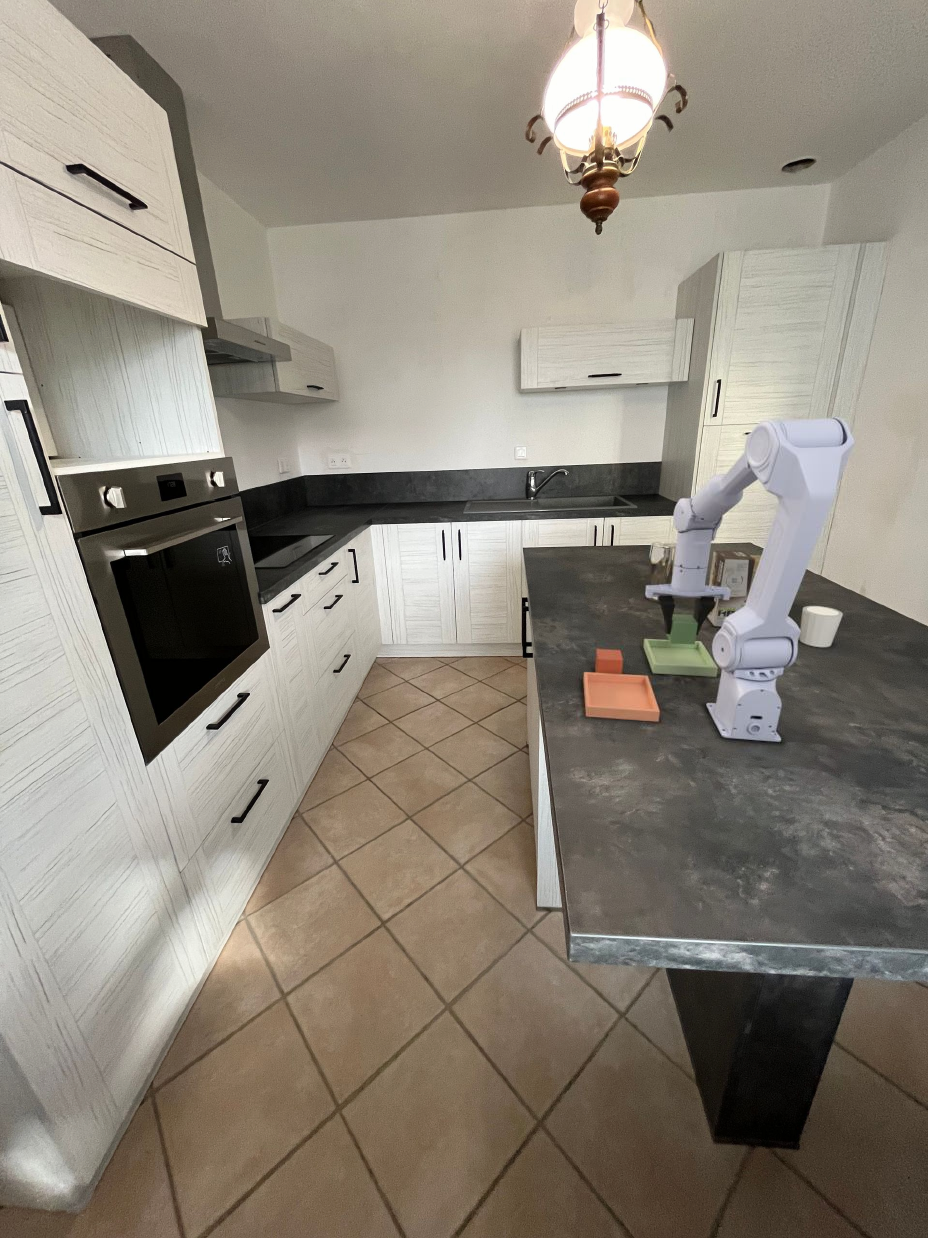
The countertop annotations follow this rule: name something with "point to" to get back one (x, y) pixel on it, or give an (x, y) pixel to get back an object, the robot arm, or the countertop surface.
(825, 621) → the white cup
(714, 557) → the coffee box
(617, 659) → the terracotta block
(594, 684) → the terracotta tray
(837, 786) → the countertop surface
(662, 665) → the sage tray
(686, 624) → the sage block
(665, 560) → the beer glass
